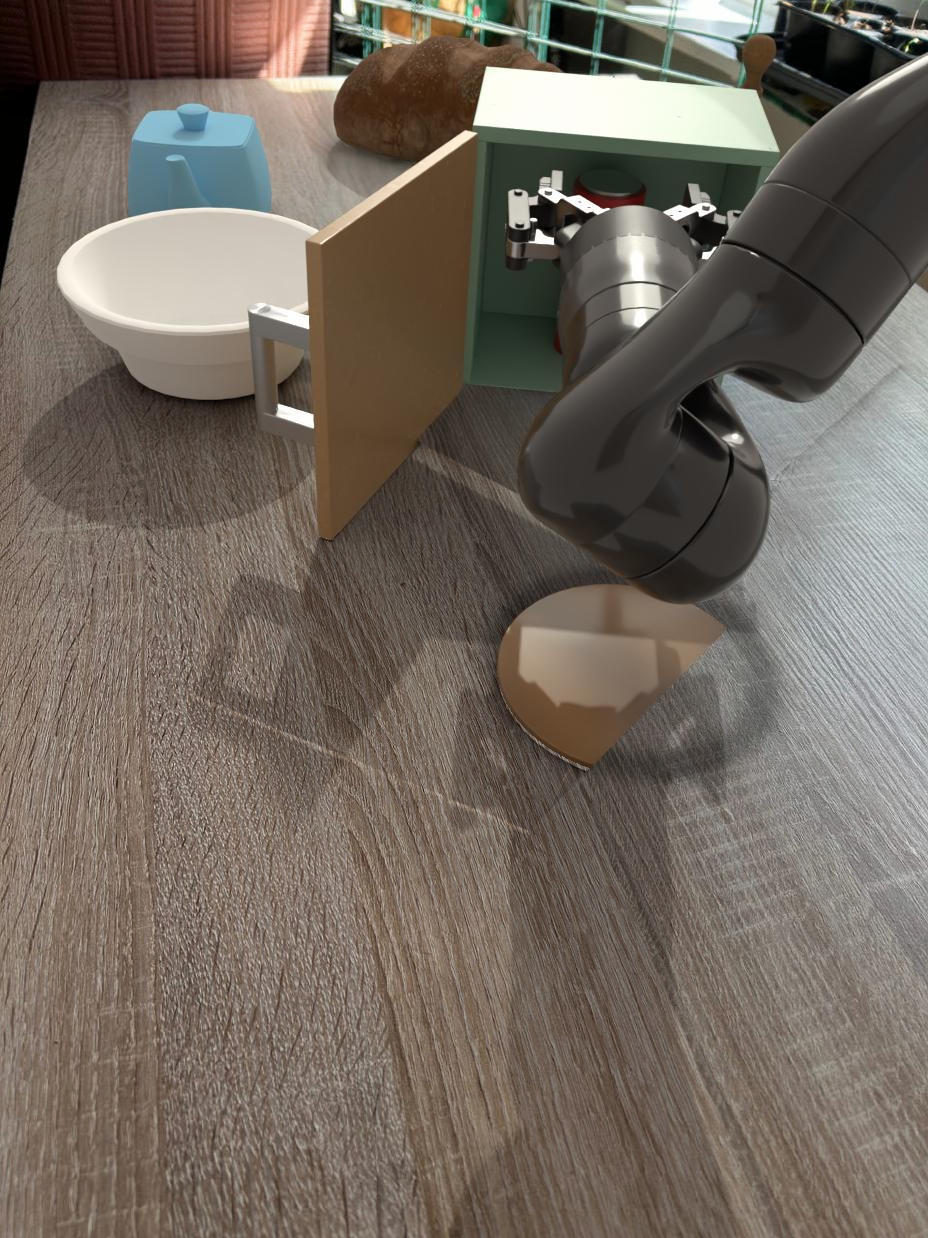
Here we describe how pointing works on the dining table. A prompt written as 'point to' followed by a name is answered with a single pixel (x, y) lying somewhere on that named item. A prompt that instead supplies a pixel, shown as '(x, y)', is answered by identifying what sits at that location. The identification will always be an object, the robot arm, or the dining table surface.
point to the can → (607, 197)
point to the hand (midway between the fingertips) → (621, 192)
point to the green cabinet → (577, 143)
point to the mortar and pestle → (757, 60)
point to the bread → (420, 94)
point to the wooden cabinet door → (376, 329)
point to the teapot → (197, 162)
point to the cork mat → (596, 663)
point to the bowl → (189, 294)
